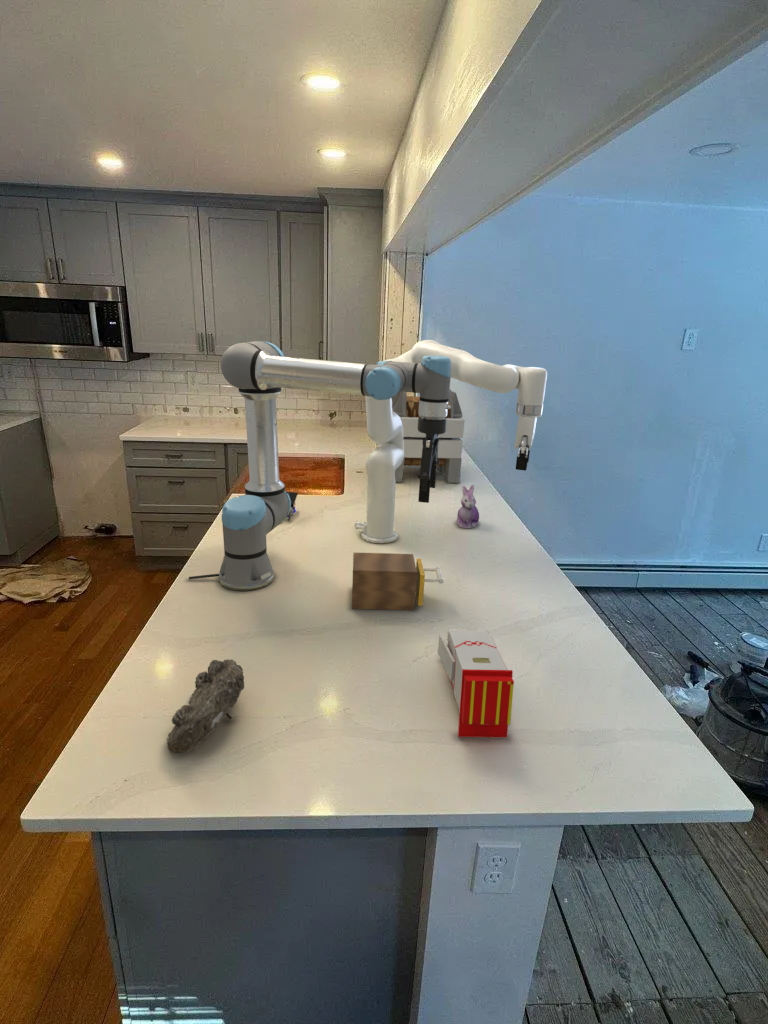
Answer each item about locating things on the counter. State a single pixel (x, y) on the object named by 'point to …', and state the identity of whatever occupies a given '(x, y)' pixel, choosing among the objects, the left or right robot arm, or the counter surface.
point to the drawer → (424, 580)
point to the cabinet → (383, 581)
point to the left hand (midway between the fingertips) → (427, 494)
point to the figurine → (468, 509)
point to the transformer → (413, 438)
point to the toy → (478, 682)
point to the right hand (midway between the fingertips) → (522, 465)
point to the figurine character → (292, 503)
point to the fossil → (206, 705)
